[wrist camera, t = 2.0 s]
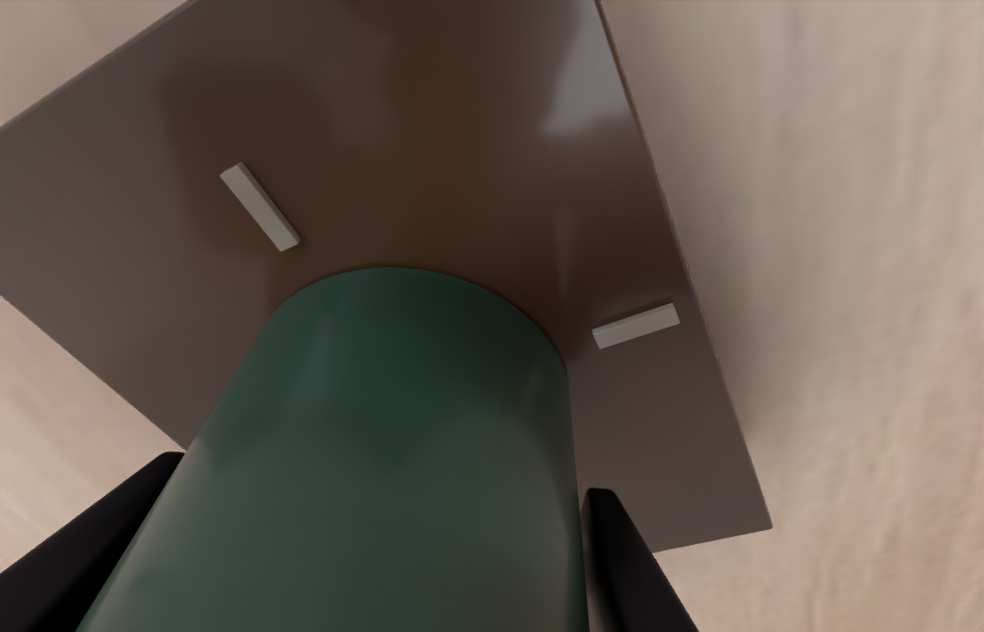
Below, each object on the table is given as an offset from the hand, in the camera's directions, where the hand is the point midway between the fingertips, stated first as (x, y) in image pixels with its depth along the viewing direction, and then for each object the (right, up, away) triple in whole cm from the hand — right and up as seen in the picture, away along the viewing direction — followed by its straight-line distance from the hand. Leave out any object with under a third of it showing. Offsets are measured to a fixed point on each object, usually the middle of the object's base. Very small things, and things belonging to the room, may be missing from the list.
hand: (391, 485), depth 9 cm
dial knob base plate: (0, +3, +4) cm, 4 cm away
